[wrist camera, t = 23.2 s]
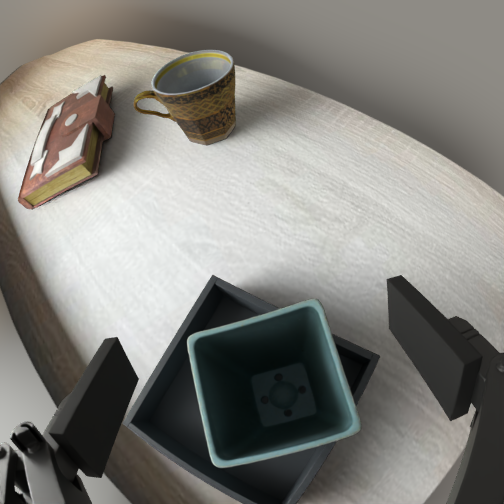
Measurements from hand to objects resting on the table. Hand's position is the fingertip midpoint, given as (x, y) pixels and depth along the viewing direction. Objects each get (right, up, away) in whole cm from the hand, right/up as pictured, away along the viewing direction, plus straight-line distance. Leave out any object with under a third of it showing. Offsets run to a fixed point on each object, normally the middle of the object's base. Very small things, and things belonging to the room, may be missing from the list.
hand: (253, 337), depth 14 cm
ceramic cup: (-7, +20, +27) cm, 34 cm away
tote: (0, -9, +12) cm, 15 cm away
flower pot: (+3, -8, +11) cm, 14 cm away
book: (-30, +22, +32) cm, 49 cm away
